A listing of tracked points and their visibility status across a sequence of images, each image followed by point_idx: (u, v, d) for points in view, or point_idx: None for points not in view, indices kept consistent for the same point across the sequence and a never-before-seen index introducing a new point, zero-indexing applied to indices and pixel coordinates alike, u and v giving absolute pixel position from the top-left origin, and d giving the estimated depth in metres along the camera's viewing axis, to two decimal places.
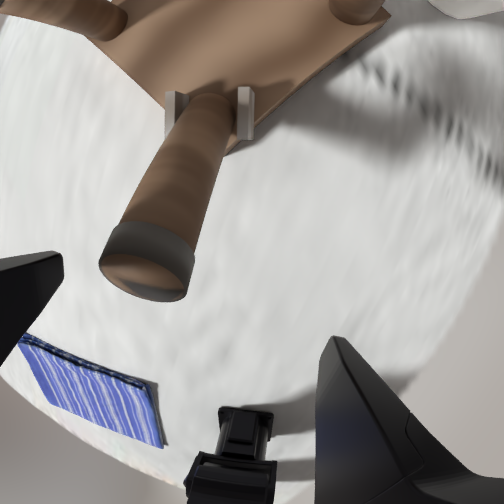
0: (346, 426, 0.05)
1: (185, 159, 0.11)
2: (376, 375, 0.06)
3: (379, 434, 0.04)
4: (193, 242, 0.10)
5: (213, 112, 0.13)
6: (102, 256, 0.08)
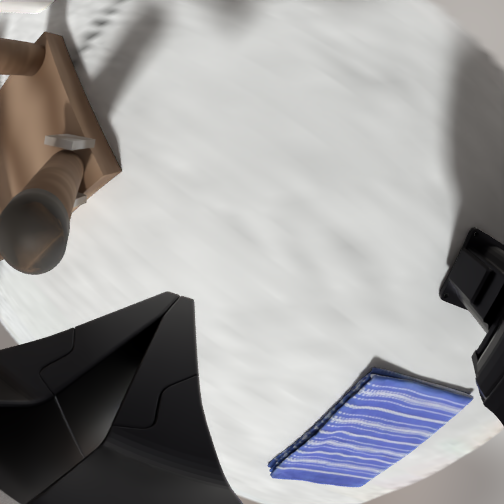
0: None
1: None
2: (190, 334, 0.06)
3: (131, 380, 0.04)
4: (36, 187, 0.09)
5: None
6: (5, 259, 0.08)
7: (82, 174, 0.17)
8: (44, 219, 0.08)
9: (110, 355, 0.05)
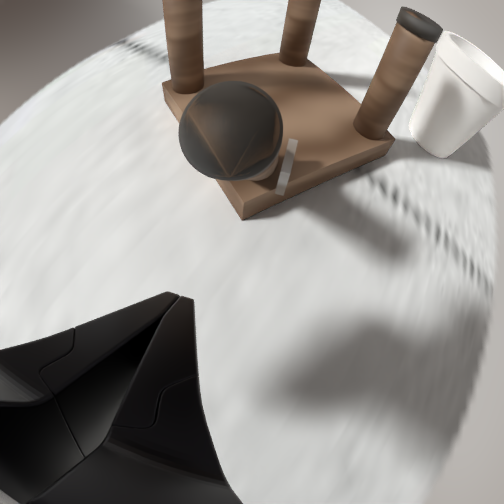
0: None
1: None
2: (190, 334, 0.06)
3: (131, 381, 0.04)
4: None
5: None
6: (209, 87, 0.08)
7: None
8: (250, 154, 0.08)
9: (110, 355, 0.05)
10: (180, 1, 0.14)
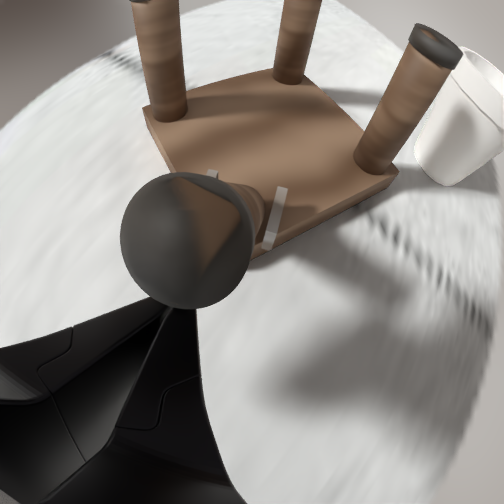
0: None
1: (244, 190, 0.11)
2: (192, 334, 0.06)
3: (134, 381, 0.04)
4: None
5: (256, 192, 0.15)
6: (152, 181, 0.06)
7: None
8: (208, 279, 0.07)
9: (108, 354, 0.05)
10: (152, 20, 0.12)
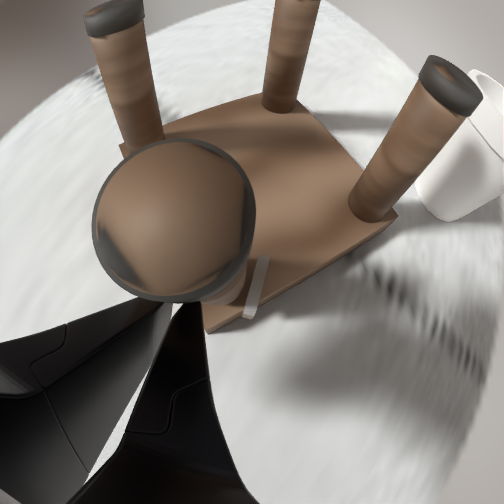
0: None
1: None
2: (199, 336, 0.06)
3: (143, 385, 0.04)
4: None
5: None
6: (145, 147, 0.05)
7: None
8: (198, 258, 0.05)
9: (100, 351, 0.05)
10: (113, 57, 0.11)
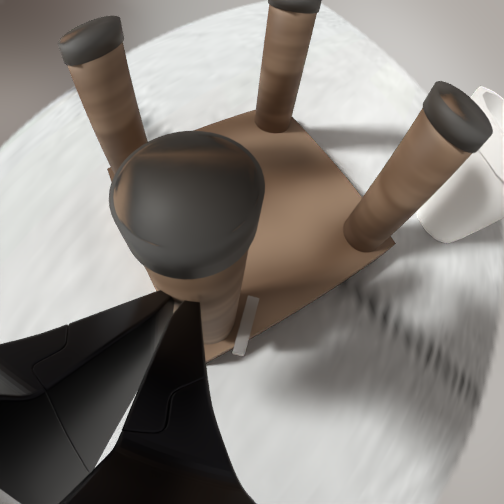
0: None
1: None
2: (198, 336, 0.06)
3: (140, 384, 0.04)
4: None
5: None
6: (166, 136, 0.06)
7: None
8: (213, 217, 0.05)
9: (102, 352, 0.05)
10: (92, 86, 0.11)
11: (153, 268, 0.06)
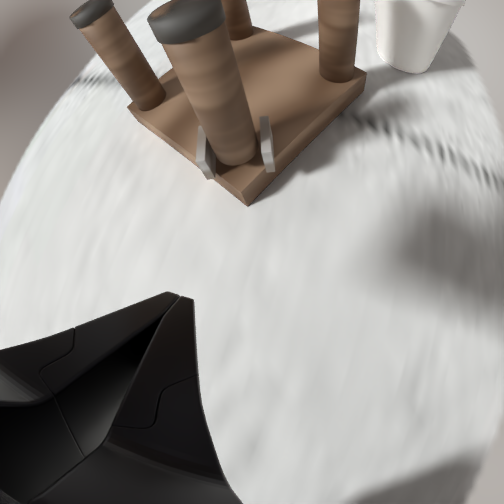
0: None
1: None
2: (191, 334, 0.06)
3: (131, 381, 0.04)
4: (225, 24, 0.10)
5: None
6: (166, 3, 0.09)
7: (233, 154, 0.17)
8: (199, 5, 0.08)
9: (110, 355, 0.05)
10: (103, 35, 0.14)
11: (178, 38, 0.09)
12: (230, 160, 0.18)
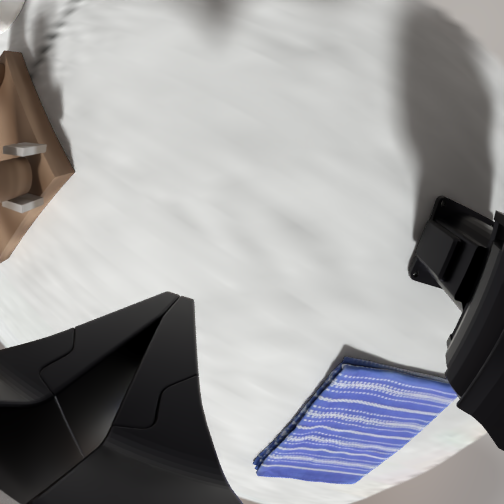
0: None
1: None
2: (190, 334, 0.06)
3: (131, 380, 0.04)
4: None
5: None
6: None
7: (20, 180, 0.15)
8: None
9: (110, 355, 0.05)
10: None
11: None
12: (26, 183, 0.16)
